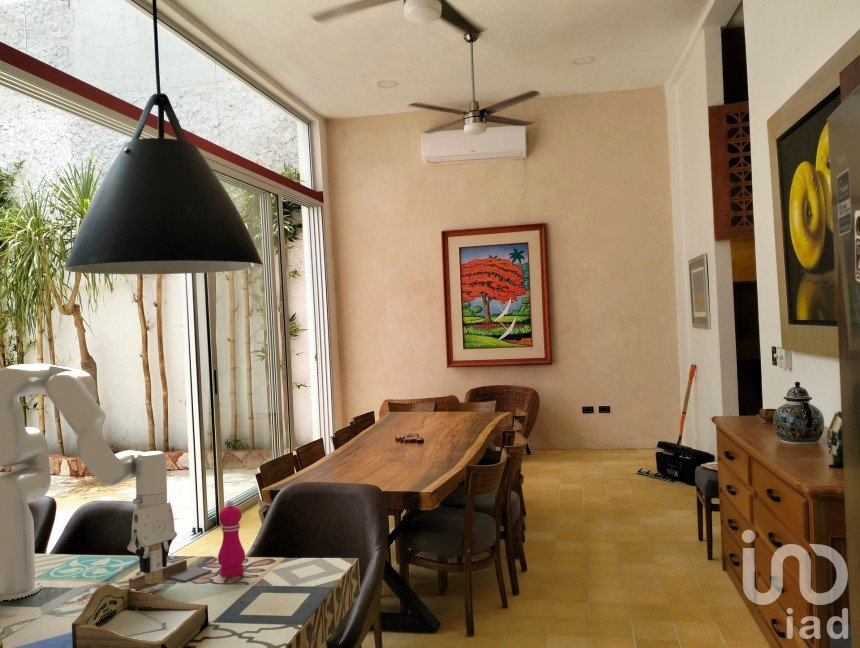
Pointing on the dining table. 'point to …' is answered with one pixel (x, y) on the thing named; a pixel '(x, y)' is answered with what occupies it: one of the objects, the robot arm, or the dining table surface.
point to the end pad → (189, 574)
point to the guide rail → (169, 570)
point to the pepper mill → (231, 542)
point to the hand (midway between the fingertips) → (153, 568)
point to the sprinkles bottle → (154, 564)
